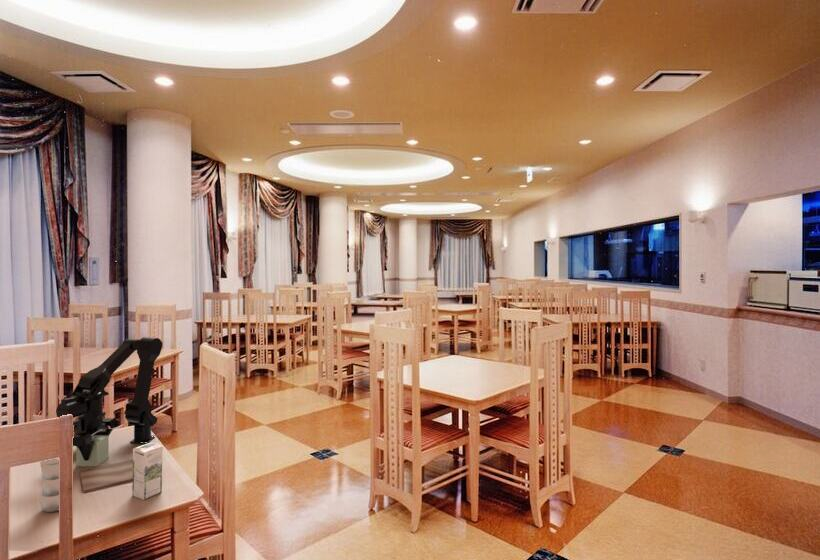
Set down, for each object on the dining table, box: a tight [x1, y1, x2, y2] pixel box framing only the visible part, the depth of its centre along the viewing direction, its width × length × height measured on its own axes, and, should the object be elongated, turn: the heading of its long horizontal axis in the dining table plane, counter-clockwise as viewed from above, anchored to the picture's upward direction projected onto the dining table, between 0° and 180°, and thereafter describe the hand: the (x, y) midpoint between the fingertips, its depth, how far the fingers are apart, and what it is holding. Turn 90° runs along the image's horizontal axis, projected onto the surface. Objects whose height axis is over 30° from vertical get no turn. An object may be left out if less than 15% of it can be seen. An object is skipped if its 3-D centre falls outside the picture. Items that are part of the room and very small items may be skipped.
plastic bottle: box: [39, 459, 59, 513], centre depth 128 cm, size 6×7×20 cm
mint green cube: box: [75, 435, 110, 467], centre depth 158 cm, size 7×7×8 cm
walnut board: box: [79, 458, 133, 493], centre depth 149 cm, size 16×16×1 cm
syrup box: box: [131, 441, 164, 501], centre depth 138 cm, size 6×6×14 cm
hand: (92, 456), depth 158 cm, fingers closed on mint green cube, 7 cm apart
